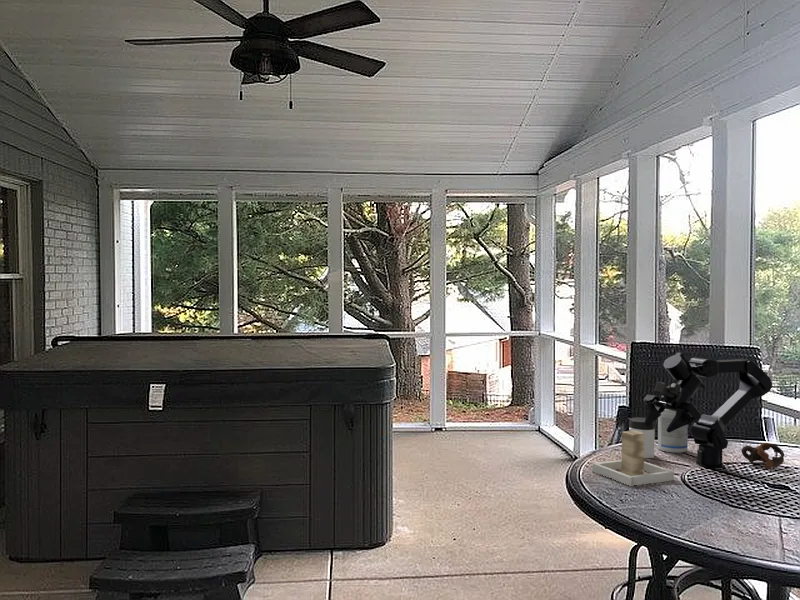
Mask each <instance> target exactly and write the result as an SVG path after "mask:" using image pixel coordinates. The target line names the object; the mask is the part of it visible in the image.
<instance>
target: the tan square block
mask: <svg viewBox="0 0 800 600" xmlns="http://www.w3.org/2000/svg"><path fill="white" fill-rule="evenodd" d="M621 460H622V462H621V469H620V471H621V473H624V474H626V475H629V476H635V475H643V474H645V471H644V462H645V458H644V433H640V432H637V431H629V430H626V431H622V432H621Z"/></svg>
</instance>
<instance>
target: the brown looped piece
mask: <svg viewBox="0 0 800 600" xmlns="http://www.w3.org/2000/svg"><path fill="white" fill-rule="evenodd" d="M770 449H772V451H773V453H777V454H779V455H780V456H772V458H769V456H770V454H768V453H767V452H766V451H769V450H770ZM740 451H741V454H742V456H743V457H744V458H745V459H747V460H748V462H749V463H750V462H751V463H750V464H752V463H753V462H757V461H759V462H761V463H765V462H766V463H765V464H764V466H763V467H764V468H765V469H766V470H768V469H770V470H771V469H772V468H775V467H778V466H781V465H782V464H784V462H785V461H784V460H785V459H784V457H785V452H784V451H783V450H782V449H781V447H779V446H777V445H776V444H773V443H770V442H761V443H760V445H757V446H756V447H753V446H751V445H745V446H743V447H742V448H741V450H740ZM748 452H749V453H750V454H749V453H748Z"/></svg>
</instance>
